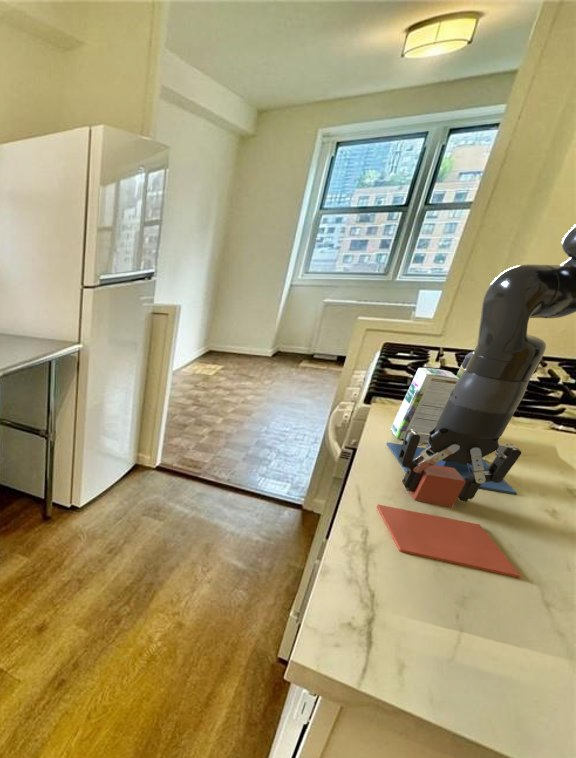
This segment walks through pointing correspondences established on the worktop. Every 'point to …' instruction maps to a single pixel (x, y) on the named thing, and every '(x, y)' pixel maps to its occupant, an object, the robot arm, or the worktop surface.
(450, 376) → the syrup box
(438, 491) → the terracotta block
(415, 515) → the terracotta mat
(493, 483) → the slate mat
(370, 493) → the worktop surface
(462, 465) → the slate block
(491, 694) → the worktop surface
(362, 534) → the worktop surface
